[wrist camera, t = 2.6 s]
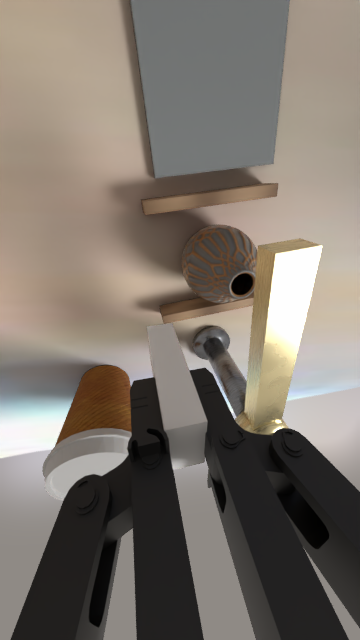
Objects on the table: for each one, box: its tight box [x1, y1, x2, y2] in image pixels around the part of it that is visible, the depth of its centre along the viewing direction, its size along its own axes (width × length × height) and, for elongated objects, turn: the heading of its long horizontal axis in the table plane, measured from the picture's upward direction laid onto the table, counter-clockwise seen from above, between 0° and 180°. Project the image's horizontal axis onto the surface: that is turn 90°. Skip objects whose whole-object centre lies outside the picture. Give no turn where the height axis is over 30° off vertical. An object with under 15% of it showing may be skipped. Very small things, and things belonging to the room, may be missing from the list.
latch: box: [235, 239, 322, 435], centre depth 15 cm, size 5×18×4 cm, turn 6°
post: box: [193, 326, 247, 417], centre depth 26 cm, size 5×5×12 cm
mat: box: [130, 0, 290, 178], centre depth 17 cm, size 11×11×1 cm
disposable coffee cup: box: [43, 365, 132, 501], centre depth 25 cm, size 10×10×12 cm
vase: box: [182, 225, 257, 303], centre depth 21 cm, size 7×7×9 cm
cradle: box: [141, 183, 278, 324], centre depth 23 cm, size 12×12×2 cm
